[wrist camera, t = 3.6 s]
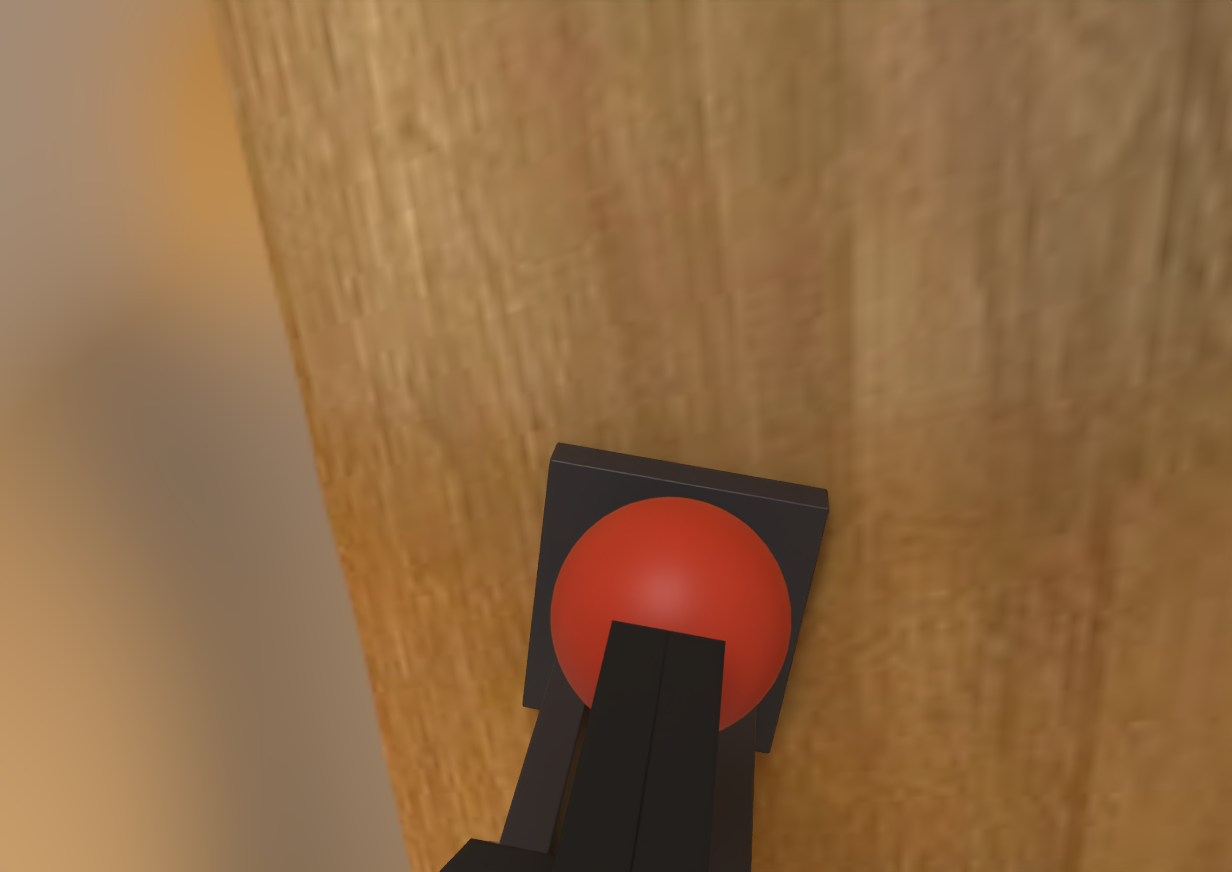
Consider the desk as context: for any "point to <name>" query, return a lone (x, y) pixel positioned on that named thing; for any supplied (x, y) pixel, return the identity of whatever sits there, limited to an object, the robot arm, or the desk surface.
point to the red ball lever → (674, 594)
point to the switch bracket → (537, 812)
